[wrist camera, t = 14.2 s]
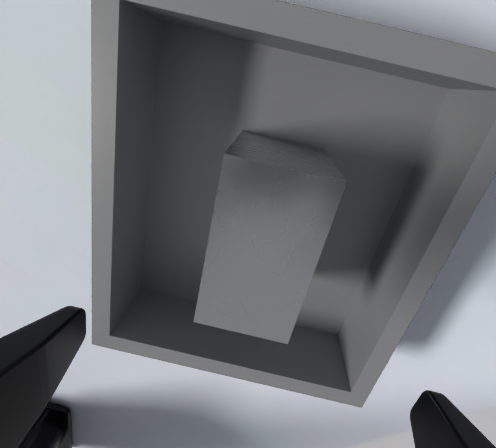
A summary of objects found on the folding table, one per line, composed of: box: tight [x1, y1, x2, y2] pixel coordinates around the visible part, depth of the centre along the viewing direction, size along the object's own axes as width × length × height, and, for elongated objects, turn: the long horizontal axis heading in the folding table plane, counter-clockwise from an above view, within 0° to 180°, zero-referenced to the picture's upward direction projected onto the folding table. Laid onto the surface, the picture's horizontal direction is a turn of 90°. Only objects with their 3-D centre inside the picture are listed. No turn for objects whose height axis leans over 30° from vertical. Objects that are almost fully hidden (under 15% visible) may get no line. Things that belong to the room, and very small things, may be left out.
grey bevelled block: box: [194, 130, 347, 344], centre depth 16 cm, size 8×4×6 cm, turn 168°
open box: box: [91, 0, 496, 408], centre depth 17 cm, size 18×16×5 cm
